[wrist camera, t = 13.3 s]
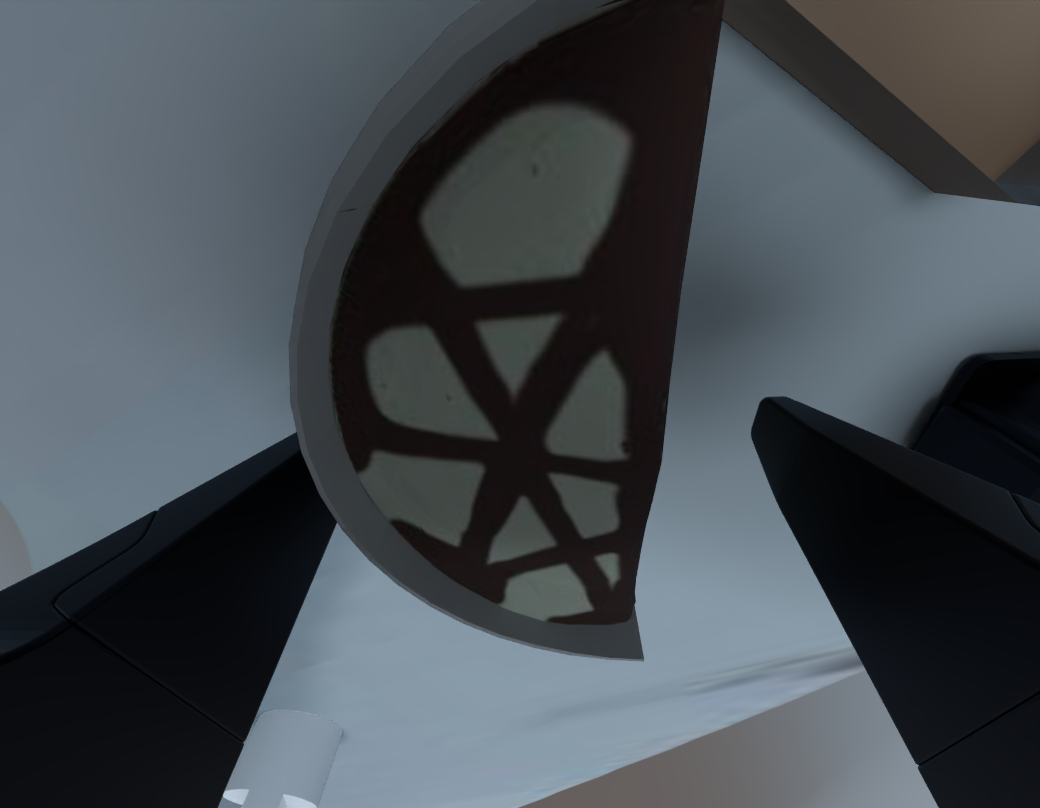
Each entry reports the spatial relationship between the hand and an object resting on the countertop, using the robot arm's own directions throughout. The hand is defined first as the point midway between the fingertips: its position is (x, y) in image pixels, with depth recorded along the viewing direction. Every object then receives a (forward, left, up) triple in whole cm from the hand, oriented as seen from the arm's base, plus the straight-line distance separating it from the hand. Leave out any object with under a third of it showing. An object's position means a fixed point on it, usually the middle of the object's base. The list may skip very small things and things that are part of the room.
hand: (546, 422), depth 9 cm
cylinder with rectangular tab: (+29, +46, -8) cm, 55 cm away
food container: (+1, -1, -7) cm, 8 cm away
